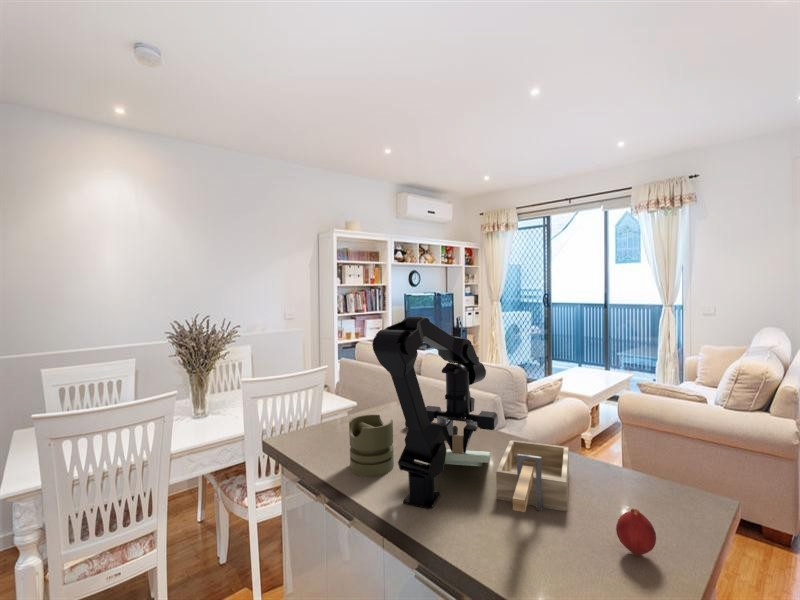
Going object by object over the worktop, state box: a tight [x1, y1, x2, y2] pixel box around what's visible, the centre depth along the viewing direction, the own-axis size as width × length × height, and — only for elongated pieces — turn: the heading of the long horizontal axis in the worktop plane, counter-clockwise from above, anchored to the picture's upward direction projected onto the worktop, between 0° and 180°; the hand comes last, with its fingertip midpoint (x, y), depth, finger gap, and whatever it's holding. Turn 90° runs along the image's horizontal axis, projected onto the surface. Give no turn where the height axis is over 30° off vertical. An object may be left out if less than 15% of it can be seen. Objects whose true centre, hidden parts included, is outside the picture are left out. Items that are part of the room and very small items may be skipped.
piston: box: [348, 414, 395, 478], centre depth 105 cm, size 11×12×11 cm
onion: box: [615, 507, 657, 557], centre depth 68 cm, size 6×6×8 cm
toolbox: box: [495, 439, 570, 513], centre depth 93 cm, size 20×14×6 cm
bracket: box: [517, 454, 543, 512], centre depth 83 cm, size 1×5×11 cm, turn 66°
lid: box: [444, 434, 491, 467], centre depth 101 cm, size 21×15×6 cm
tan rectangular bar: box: [512, 466, 533, 513], centre depth 75 cm, size 14×2×2 cm, turn 156°
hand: (458, 451), depth 101 cm, fingers closed on lid, 3 cm apart
